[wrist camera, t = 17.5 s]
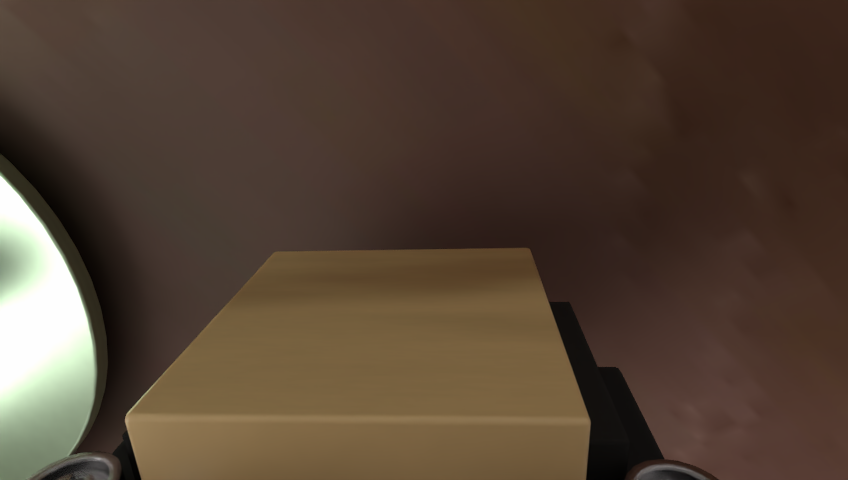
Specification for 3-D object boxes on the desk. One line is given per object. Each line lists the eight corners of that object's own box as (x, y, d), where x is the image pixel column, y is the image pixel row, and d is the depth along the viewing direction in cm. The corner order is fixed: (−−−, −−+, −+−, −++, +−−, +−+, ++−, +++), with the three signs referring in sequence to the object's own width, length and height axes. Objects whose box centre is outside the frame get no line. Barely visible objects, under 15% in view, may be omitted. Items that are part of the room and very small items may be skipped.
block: (273, 250, 10) (119, 416, 6) (530, 246, 10) (592, 420, 5) (303, 453, 12) (203, 712, 7) (524, 456, 12) (567, 730, 7)
